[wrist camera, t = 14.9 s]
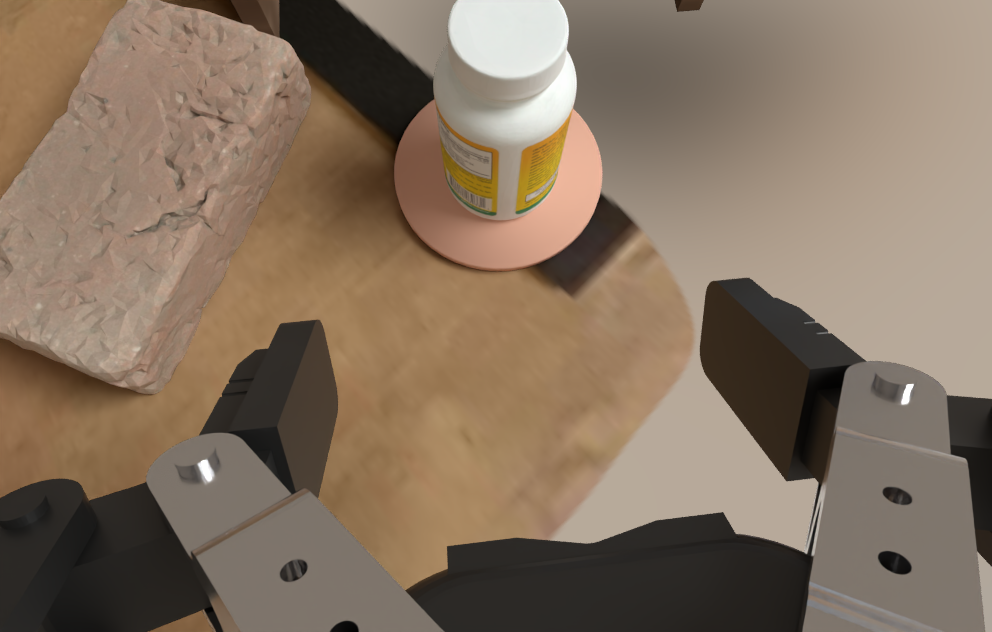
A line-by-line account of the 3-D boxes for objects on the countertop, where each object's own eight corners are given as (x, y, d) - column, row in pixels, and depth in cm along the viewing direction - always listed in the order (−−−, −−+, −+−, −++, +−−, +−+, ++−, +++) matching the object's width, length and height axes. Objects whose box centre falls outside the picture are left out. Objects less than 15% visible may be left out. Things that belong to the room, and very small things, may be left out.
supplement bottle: (447, 227, 28) (425, 100, 19) (443, 126, 29) (420, -38, 20) (562, 220, 28) (597, 92, 19) (552, 120, 29) (580, -45, 20)
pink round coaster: (353, 188, 29) (350, 183, 28) (483, 52, 31) (483, 45, 31) (514, 313, 27) (515, 310, 27) (640, 161, 29) (643, 155, 29)
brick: (169, 402, 27) (103, 386, 22) (5, 338, 27) (-92, 309, 23) (326, 100, 31) (298, 33, 26) (181, 51, 31) (129, -22, 27)
